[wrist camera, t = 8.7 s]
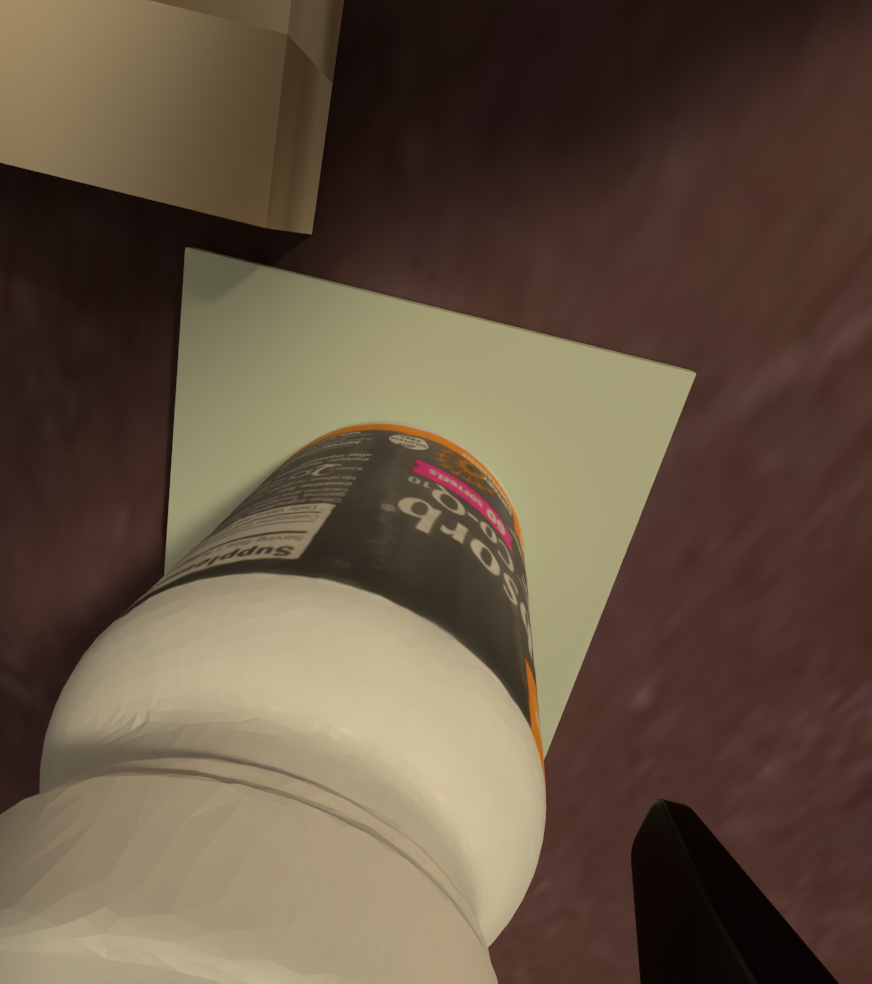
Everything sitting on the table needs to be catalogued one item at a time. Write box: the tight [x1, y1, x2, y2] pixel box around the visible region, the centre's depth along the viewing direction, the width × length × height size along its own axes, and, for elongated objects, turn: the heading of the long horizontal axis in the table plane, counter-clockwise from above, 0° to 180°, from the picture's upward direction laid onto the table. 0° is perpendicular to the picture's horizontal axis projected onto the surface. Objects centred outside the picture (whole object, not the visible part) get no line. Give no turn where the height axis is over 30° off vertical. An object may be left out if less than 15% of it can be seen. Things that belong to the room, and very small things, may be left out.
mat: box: [164, 247, 696, 759], centre depth 13 cm, size 10×10×1 cm
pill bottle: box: [0, 421, 546, 984], centre depth 9 cm, size 6×6×10 cm
